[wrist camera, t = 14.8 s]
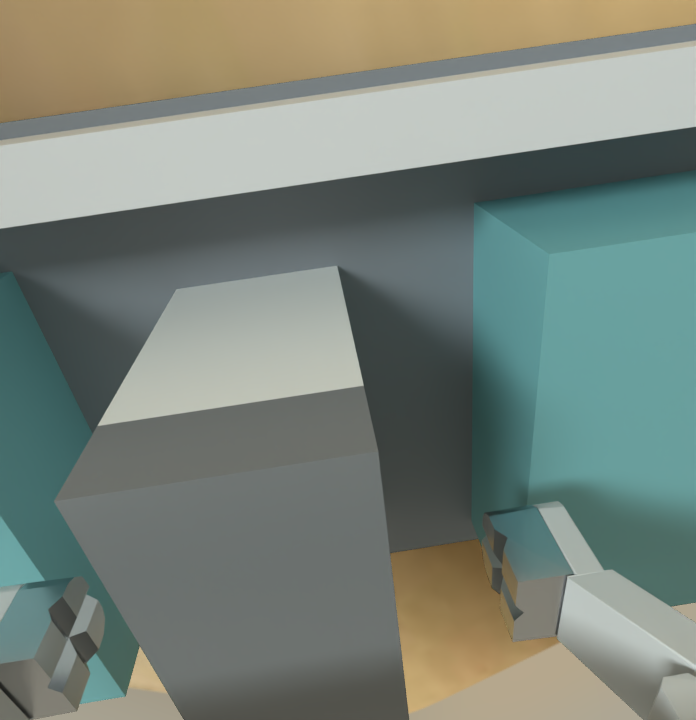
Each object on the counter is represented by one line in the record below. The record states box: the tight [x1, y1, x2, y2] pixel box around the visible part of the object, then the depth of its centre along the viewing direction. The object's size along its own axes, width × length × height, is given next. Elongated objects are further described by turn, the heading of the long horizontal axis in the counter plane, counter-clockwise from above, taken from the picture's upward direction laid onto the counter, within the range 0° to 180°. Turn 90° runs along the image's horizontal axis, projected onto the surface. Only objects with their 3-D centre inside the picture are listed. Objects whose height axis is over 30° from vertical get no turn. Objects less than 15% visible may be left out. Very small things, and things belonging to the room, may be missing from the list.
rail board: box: [0, 24, 696, 704], centre depth 13 cm, size 25×15×5 cm, turn 97°
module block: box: [54, 266, 409, 720], centre depth 11 cm, size 4×9×7 cm, turn 7°
